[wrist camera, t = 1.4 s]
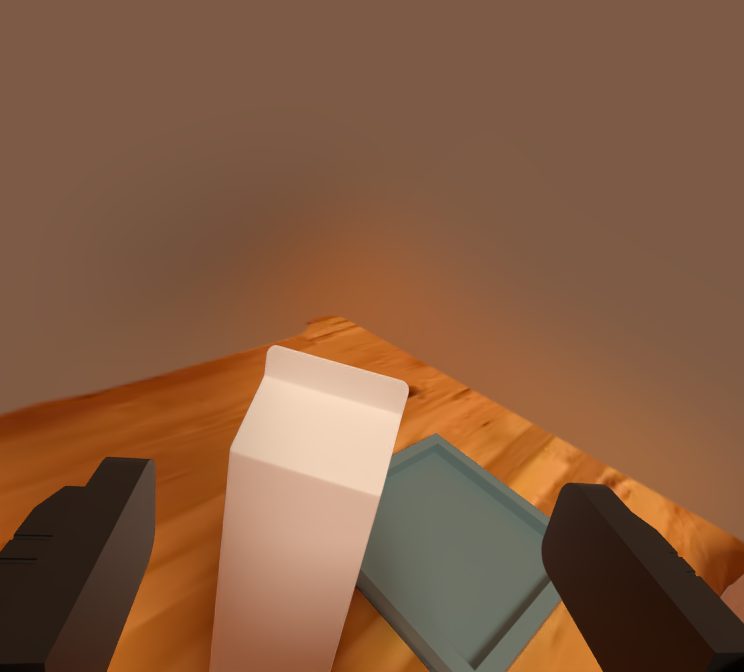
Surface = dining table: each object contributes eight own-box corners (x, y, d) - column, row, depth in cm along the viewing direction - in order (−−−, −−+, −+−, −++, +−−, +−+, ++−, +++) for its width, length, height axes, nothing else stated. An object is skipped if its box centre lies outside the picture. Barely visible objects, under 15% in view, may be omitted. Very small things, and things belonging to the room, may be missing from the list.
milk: (249, 615, 31) (292, 315, 22) (337, 644, 30) (419, 350, 21) (202, 719, 25) (232, 376, 16) (308, 757, 25) (401, 425, 16)
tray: (297, 517, 39) (300, 502, 38) (431, 446, 51) (436, 433, 50) (470, 718, 28) (480, 702, 27) (587, 566, 40) (596, 552, 40)
